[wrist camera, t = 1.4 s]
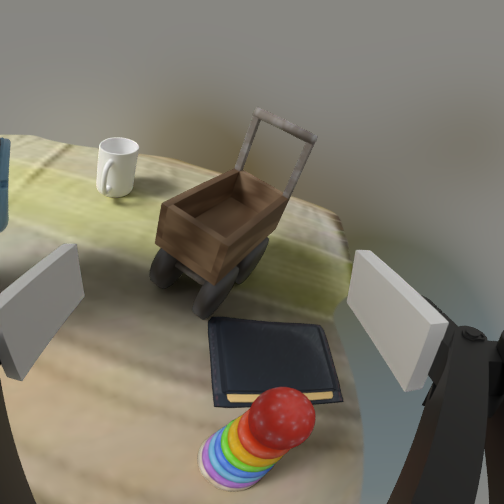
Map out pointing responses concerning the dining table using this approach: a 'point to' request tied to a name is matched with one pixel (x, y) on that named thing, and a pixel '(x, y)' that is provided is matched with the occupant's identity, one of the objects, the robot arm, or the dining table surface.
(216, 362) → the dark navy book
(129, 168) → the cup
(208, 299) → the trolley
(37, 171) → the dining table surface
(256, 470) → the stacking toy
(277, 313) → the dining table surface
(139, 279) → the dining table surface
